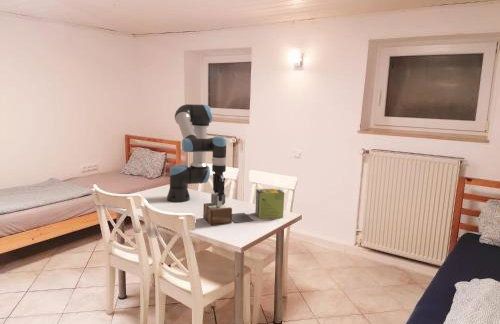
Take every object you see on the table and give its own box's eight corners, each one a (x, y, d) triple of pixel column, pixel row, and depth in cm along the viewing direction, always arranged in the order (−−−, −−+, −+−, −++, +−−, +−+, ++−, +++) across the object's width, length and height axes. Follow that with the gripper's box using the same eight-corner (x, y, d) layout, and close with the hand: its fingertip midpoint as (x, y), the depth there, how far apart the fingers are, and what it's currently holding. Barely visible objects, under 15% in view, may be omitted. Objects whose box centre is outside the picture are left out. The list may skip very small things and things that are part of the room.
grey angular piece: (206, 207, 204) (206, 192, 202) (222, 205, 208) (223, 191, 206) (213, 213, 193) (213, 197, 192) (229, 211, 198) (230, 195, 196)
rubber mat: (225, 215, 212) (225, 214, 212) (243, 213, 217) (243, 212, 217) (235, 223, 198) (235, 222, 198) (254, 220, 203) (254, 220, 203)
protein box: (283, 217, 211) (284, 192, 208) (258, 218, 208) (259, 192, 206) (279, 212, 221) (280, 188, 219) (255, 212, 219) (256, 188, 216)
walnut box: (203, 217, 205) (203, 203, 204) (222, 215, 210) (223, 201, 209) (211, 225, 193) (211, 210, 191) (231, 223, 198) (232, 208, 196)
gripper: (207, 162, 202) (207, 201, 206) (217, 167, 187) (217, 210, 191) (220, 161, 206) (219, 200, 209) (231, 166, 190) (229, 208, 194)
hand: (218, 205), depth 200 cm, fingers closed on grey angular piece, 4 cm apart
